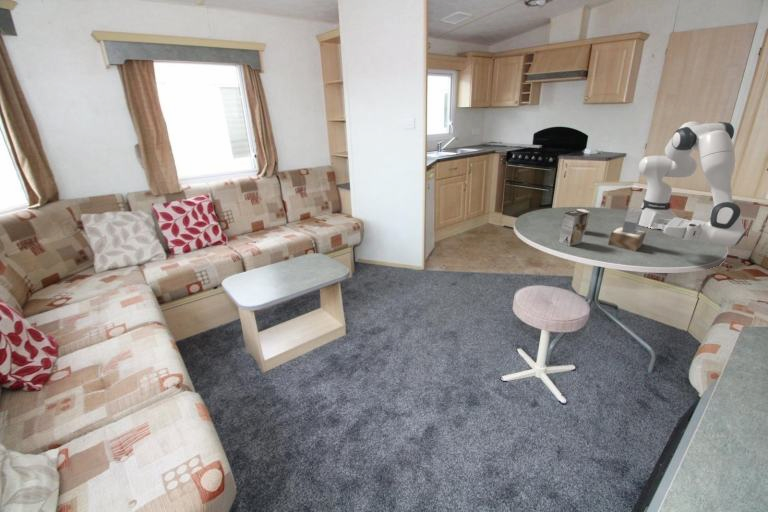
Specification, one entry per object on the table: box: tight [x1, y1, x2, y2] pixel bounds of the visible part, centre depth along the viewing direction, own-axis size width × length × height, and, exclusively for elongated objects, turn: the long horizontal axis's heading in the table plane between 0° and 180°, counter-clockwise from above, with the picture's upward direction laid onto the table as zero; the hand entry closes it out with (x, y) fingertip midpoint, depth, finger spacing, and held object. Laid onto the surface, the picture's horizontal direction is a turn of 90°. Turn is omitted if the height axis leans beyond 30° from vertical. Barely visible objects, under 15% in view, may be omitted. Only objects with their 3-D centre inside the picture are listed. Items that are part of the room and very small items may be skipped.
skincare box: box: [576, 208, 591, 234], centre depth 197 cm, size 6×4×12 cm
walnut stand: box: [608, 226, 647, 252], centre depth 180 cm, size 12×12×7 cm
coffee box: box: [558, 209, 588, 247], centre depth 181 cm, size 9×6×16 cm
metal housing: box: [622, 207, 643, 234], centre depth 177 cm, size 5×5×11 cm
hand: (656, 222), depth 169 cm, fingers open, 8 cm apart
